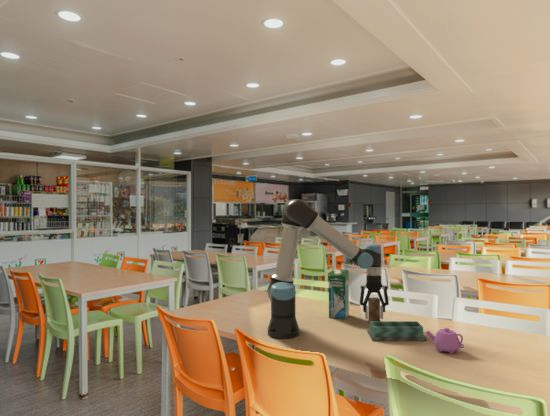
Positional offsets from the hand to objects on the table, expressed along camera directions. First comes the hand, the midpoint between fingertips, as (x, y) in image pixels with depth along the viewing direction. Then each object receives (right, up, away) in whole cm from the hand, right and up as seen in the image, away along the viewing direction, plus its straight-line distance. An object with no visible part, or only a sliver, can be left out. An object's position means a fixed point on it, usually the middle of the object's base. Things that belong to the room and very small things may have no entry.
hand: (374, 318), depth 213 cm
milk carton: (-17, -2, +11) cm, 20 cm away
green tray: (+4, -2, -24) cm, 25 cm away
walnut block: (0, -2, 0) cm, 2 cm away
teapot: (+19, -2, -42) cm, 46 cm away
